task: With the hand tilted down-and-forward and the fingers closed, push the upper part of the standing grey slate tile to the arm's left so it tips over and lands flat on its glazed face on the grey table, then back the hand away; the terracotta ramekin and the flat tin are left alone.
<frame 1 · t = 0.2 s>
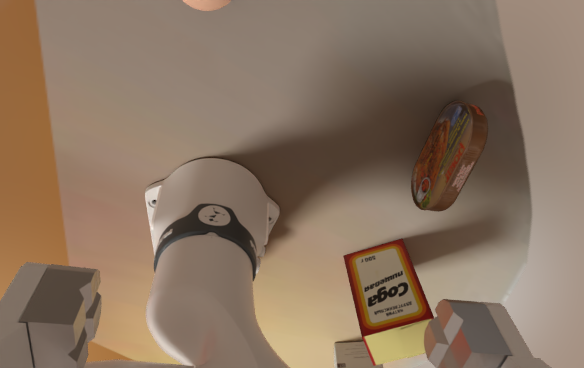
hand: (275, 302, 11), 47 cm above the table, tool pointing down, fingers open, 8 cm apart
tin: (436, 142, 64), on the table
skincare box: (353, 350, 87), on the table
baking soda box: (376, 260, 75), on the table
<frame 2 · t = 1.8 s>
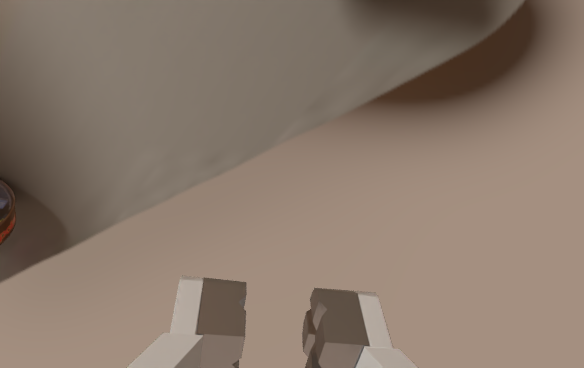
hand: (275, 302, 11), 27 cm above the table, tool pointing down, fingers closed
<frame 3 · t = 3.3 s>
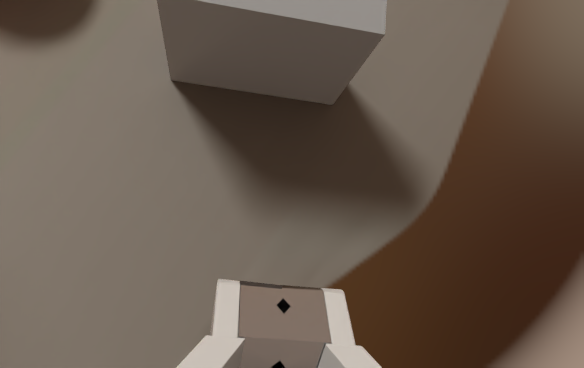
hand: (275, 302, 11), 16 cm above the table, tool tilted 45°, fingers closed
tile: (256, 74, 29), on the table
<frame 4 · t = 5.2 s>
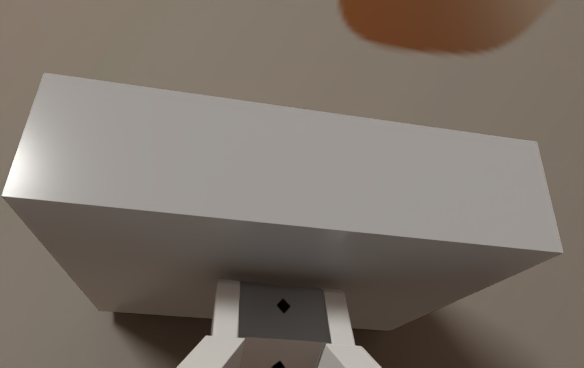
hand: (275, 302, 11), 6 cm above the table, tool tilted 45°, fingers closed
tile: (253, 285, 17), on the table, tilted 15°
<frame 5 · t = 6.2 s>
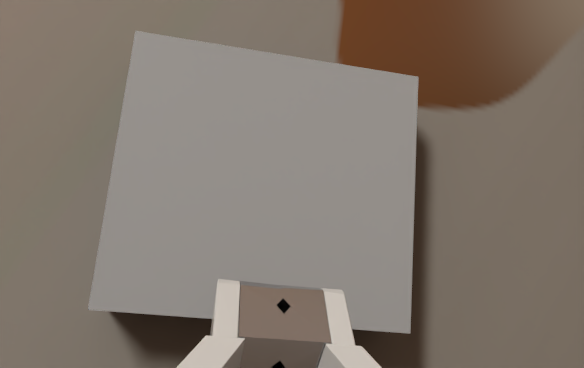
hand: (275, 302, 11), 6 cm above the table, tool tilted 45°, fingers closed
tile: (253, 318, 16), point 1 cm above the table, tilted 90°
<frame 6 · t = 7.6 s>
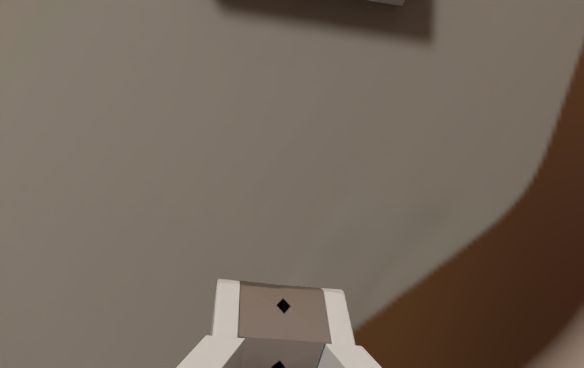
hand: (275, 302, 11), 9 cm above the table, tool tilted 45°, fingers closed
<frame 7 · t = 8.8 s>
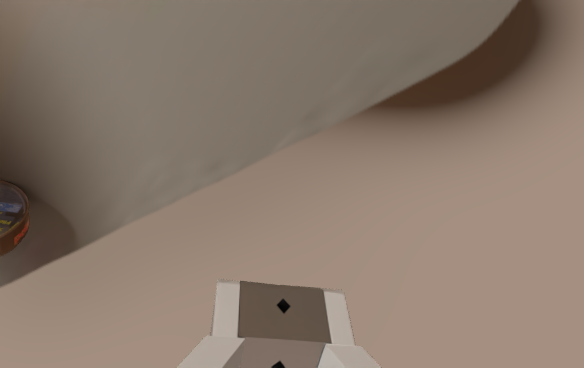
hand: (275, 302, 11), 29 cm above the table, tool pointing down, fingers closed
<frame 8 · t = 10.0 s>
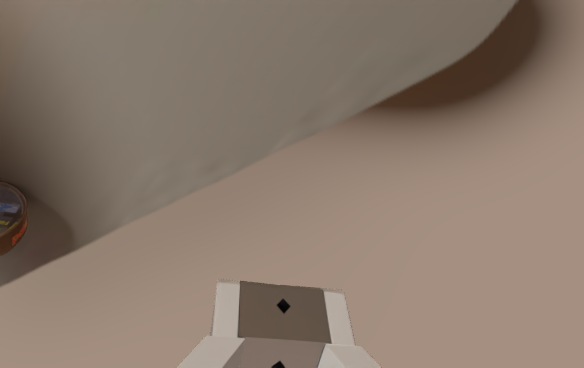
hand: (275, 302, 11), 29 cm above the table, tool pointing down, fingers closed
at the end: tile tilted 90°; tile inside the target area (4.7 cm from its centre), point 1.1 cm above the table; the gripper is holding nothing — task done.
